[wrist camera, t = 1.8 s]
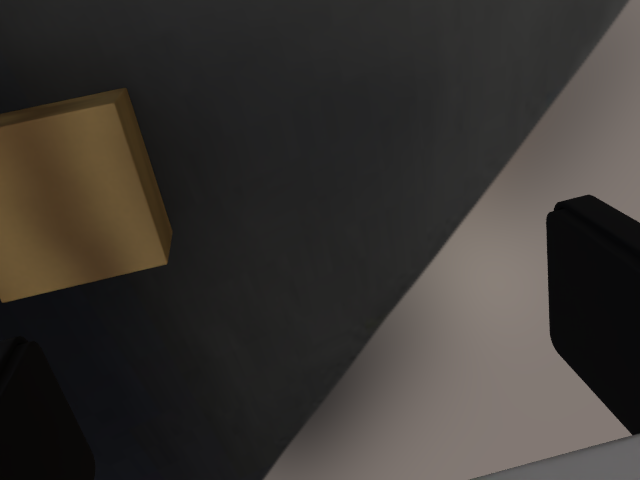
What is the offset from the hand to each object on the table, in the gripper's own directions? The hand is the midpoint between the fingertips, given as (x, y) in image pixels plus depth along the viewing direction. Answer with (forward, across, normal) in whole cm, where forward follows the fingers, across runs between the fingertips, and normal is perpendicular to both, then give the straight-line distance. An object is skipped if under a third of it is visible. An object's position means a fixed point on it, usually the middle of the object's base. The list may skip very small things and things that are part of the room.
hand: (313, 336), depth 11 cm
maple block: (+21, +10, +2) cm, 24 cm away
